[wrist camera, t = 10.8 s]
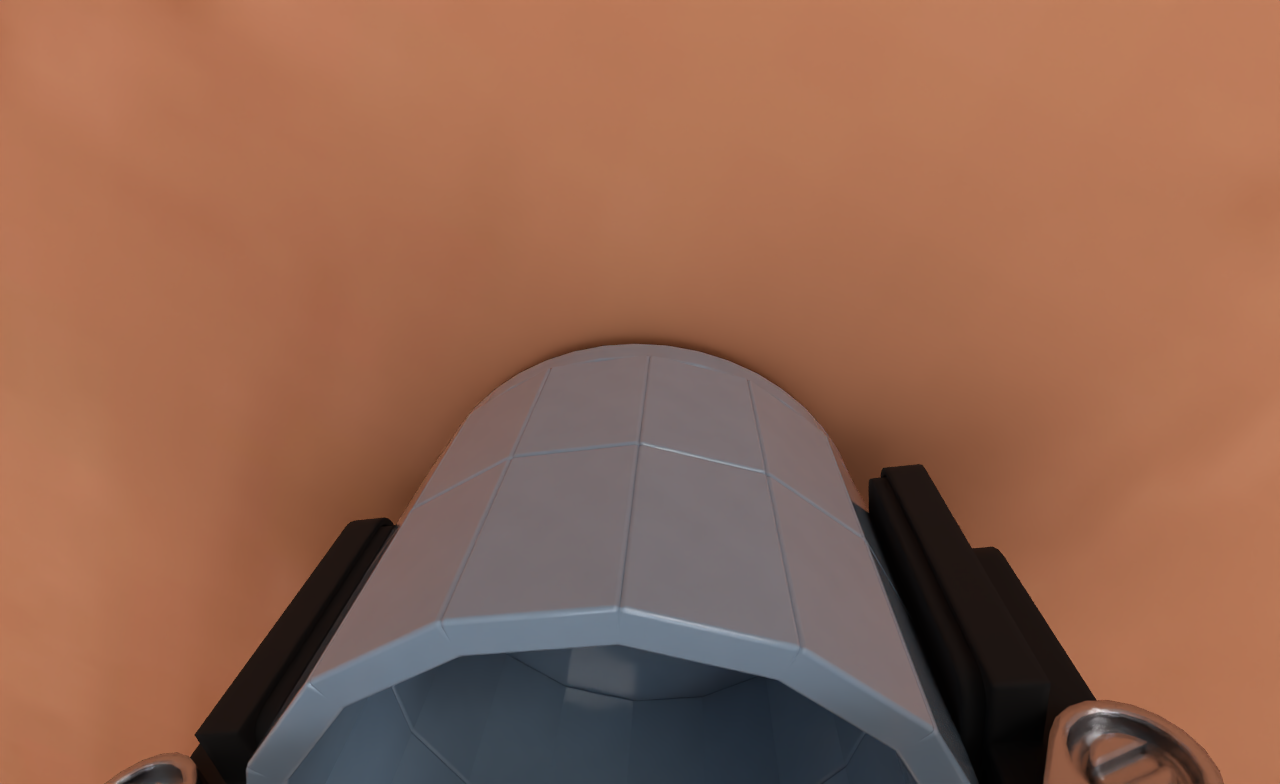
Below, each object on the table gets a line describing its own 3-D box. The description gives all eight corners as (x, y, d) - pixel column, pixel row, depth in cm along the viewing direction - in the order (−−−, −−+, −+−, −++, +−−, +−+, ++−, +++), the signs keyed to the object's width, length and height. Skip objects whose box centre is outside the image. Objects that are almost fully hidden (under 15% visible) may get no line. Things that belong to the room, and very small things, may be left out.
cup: (493, 697, 14) (384, 1060, 9) (377, 373, 10) (105, 647, 6) (861, 673, 13) (974, 1063, 8) (852, 312, 10) (1027, 575, 5)
